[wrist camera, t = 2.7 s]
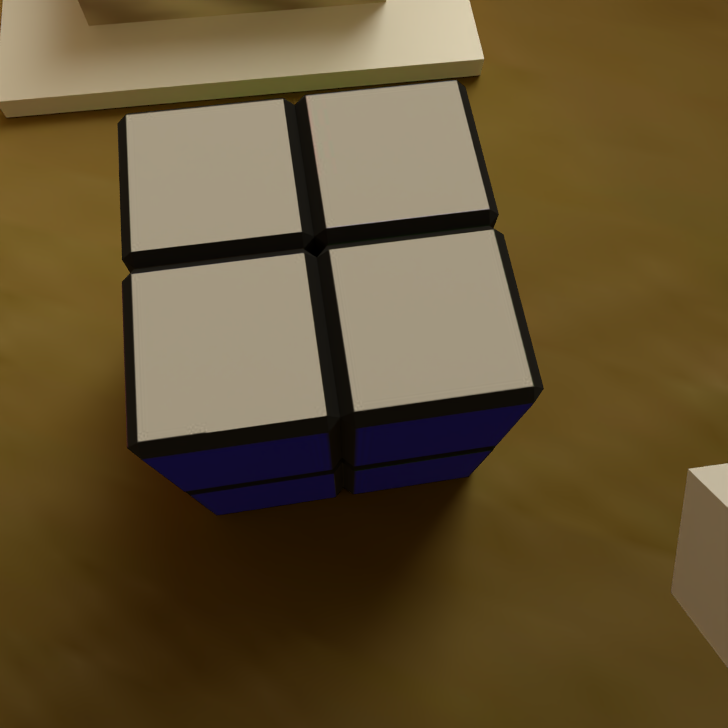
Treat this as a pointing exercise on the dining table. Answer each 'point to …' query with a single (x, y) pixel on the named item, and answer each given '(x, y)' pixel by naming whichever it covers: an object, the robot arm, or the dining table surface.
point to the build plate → (224, 53)
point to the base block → (190, 8)
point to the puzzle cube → (316, 296)
